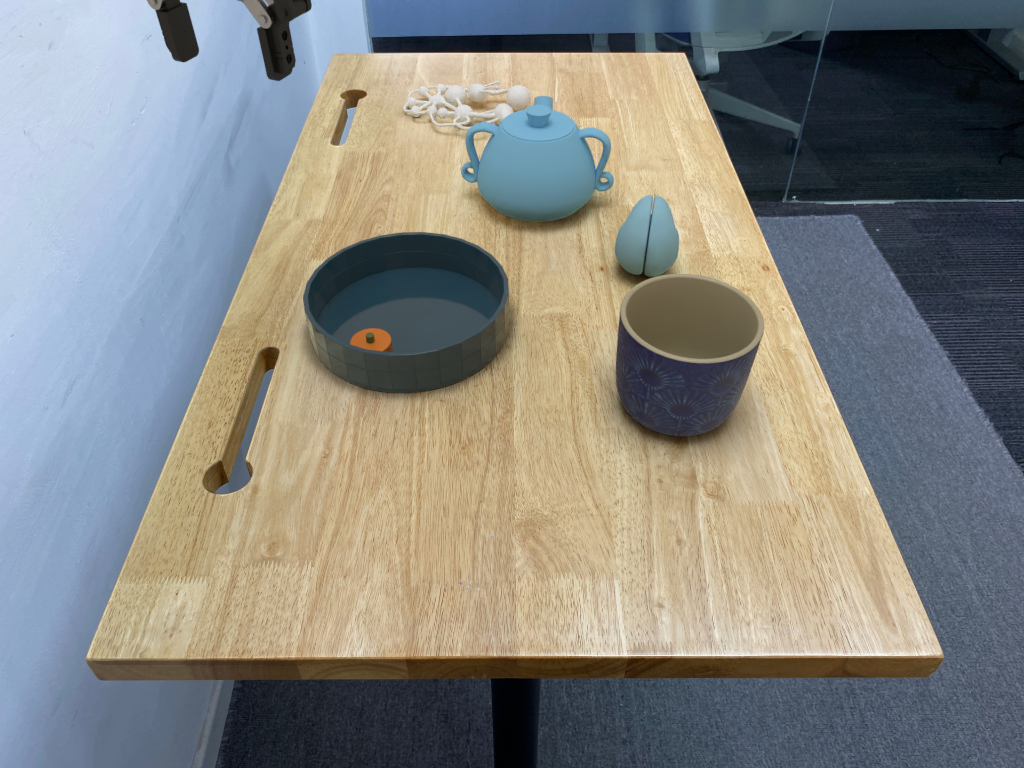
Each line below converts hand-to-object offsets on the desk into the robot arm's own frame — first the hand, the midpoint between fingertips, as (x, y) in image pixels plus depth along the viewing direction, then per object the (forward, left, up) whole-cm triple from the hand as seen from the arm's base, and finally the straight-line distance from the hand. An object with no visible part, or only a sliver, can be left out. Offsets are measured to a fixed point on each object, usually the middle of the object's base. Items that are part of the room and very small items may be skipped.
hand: (233, 67), depth 58 cm
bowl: (+12, -2, -30) cm, 32 cm away
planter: (+24, -28, -30) cm, 48 cm away
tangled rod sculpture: (+48, +34, -30) cm, 66 cm away
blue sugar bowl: (+41, +10, -30) cm, 52 cm away
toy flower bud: (+40, -10, -30) cm, 51 cm away
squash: (+5, -5, -30) cm, 30 cm away
